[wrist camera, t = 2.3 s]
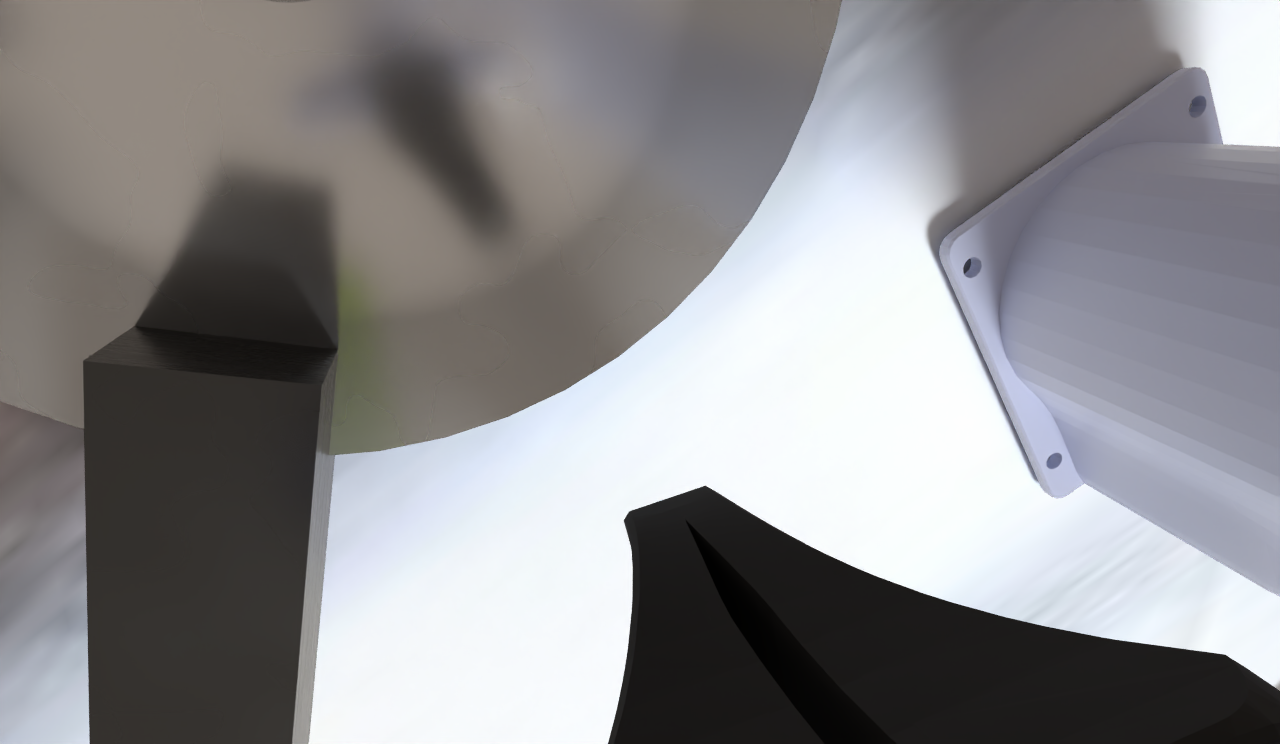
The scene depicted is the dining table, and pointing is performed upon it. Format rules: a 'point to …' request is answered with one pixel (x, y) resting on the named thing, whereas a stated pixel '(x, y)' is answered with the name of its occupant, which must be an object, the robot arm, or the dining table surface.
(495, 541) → the dining table surface
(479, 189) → the cooker lid
